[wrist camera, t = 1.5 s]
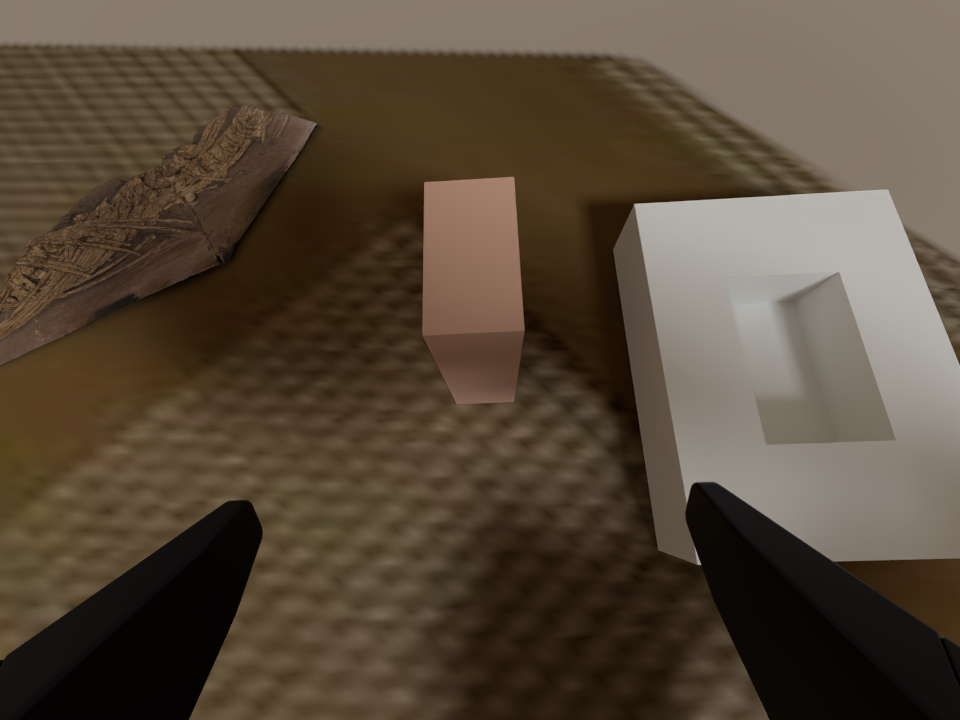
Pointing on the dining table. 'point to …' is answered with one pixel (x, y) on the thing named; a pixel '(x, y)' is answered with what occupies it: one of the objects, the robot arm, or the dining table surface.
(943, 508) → the white slotted block
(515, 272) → the pink rectangular block
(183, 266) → the wooden fragment
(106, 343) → the dining table surface
